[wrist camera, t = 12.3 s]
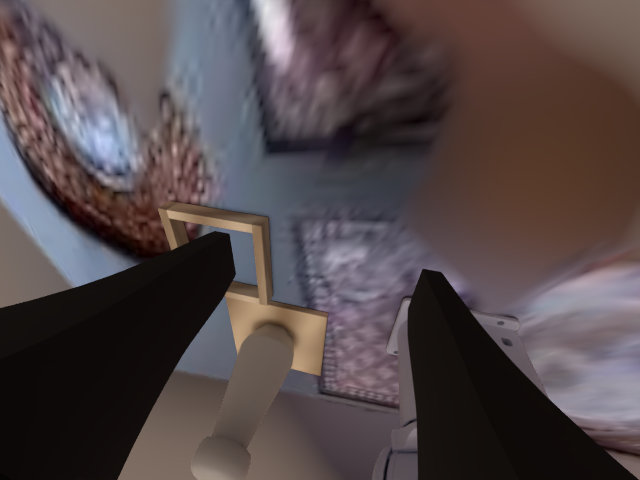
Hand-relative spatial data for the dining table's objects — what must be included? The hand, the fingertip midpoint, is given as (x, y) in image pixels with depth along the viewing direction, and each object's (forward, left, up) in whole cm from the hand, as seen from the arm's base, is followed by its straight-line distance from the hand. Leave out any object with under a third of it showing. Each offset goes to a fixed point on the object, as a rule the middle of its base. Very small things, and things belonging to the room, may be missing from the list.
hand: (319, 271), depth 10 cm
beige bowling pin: (+6, +19, -10) cm, 23 cm away
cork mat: (+6, +20, -10) cm, 23 cm away
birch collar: (+11, +9, -10) cm, 18 cm away
